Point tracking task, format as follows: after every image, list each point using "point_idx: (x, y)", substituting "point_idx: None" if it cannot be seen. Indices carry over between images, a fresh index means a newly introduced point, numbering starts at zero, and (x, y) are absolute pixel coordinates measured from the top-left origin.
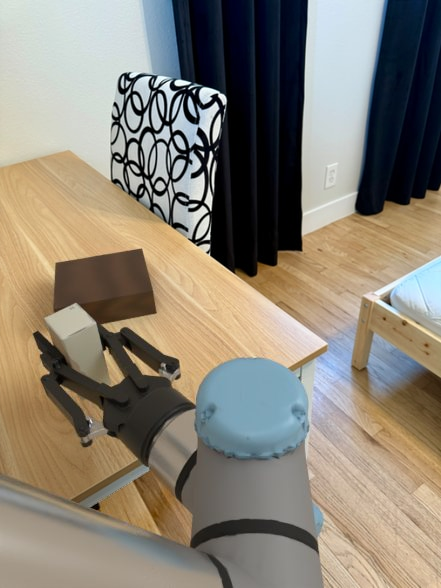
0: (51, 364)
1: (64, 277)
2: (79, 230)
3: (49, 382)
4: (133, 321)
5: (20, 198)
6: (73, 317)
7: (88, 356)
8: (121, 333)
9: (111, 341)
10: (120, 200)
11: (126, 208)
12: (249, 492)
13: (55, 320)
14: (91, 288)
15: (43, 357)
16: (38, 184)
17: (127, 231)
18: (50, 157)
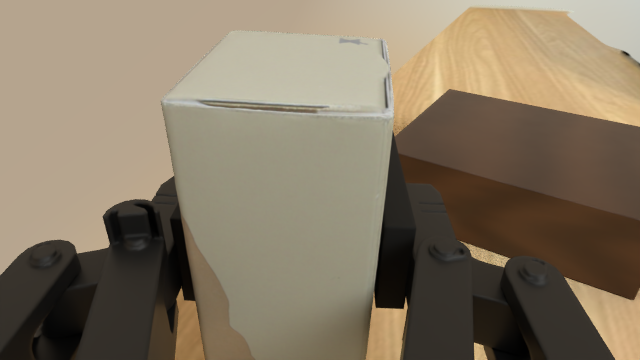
0: (105, 213)
1: (447, 112)
2: (525, 86)
3: (23, 284)
4: None
5: (463, 33)
6: (317, 59)
7: (284, 285)
8: (508, 279)
9: (431, 285)
10: (627, 74)
11: (635, 87)
12: None
13: (246, 43)
14: (489, 150)
15: (170, 189)
16: (498, 28)
17: (621, 116)
18: (535, 11)
